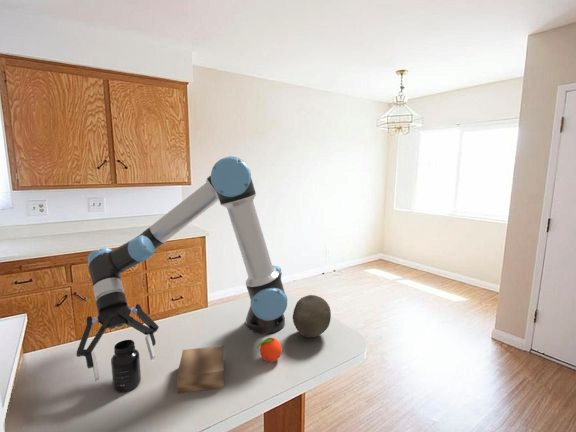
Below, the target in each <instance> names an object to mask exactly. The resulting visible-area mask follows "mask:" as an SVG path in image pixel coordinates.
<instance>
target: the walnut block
mask: <svg viewBox="0 0 576 432" xmlns="http://www.w3.org/2000/svg"><path fill="white" fill-rule="evenodd" d="M224 350H225V349H224V345H218V346H209V347H200V348H189V349H183V350H182V353H181V357H180V362H179V366H178V370H177V375H176V380H177V381H176V382H177V383H176V384H177V387H176V388H177V394H182V393H190V392H198V391H207V390H213V389H222V388H224V387H225V381H224V380H225V373H224V372H225V371H224V370H225V366H224V365H225V364H224V363H225V362H224V359H225V356H224V354H225V353H224V352H225V351H224Z"/></svg>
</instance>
